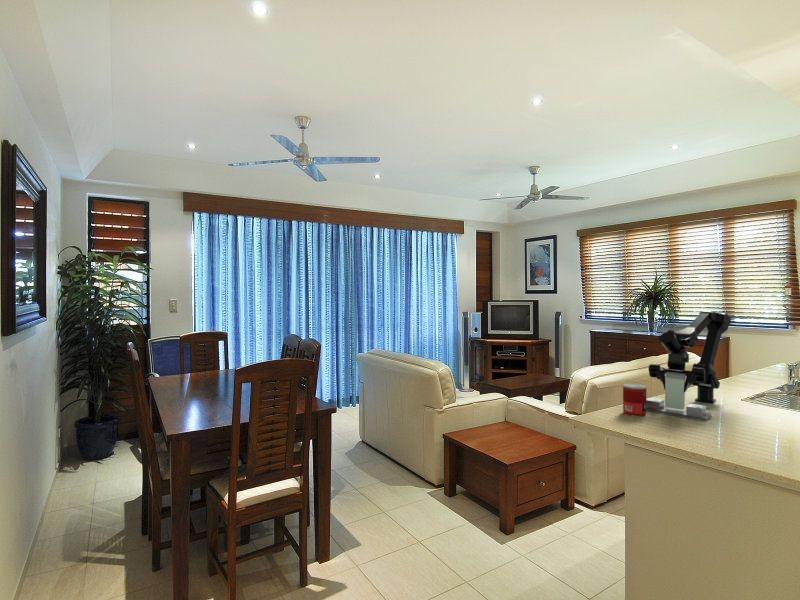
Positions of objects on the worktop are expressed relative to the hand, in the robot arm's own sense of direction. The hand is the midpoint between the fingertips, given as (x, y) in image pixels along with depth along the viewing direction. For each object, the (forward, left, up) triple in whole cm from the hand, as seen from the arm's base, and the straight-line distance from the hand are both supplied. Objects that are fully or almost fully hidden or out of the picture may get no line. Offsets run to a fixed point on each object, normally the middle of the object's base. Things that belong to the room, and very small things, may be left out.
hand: (674, 390), depth 171 cm
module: (-1, 0, -7) cm, 7 cm away
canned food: (+10, -11, -9) cm, 17 cm away
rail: (-1, 0, -9) cm, 9 cm away
